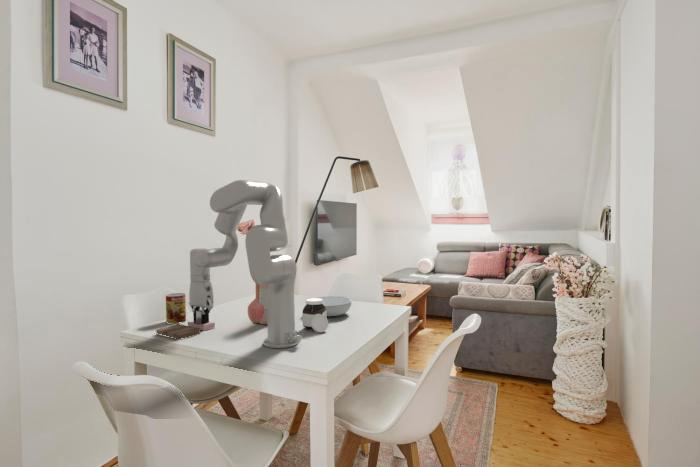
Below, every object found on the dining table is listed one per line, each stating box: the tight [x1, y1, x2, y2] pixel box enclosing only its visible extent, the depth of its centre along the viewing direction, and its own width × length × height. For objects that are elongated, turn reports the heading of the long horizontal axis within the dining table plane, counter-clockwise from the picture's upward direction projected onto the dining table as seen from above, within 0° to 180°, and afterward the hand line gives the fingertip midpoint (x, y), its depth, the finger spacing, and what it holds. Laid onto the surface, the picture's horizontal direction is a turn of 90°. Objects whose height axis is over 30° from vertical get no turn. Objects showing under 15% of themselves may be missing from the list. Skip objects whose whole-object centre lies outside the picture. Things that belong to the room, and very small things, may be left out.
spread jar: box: [301, 297, 329, 333], centre depth 155 cm, size 12×11×12 cm
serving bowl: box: [314, 295, 352, 318], centre depth 180 cm, size 21×21×7 cm
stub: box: [187, 309, 216, 331], centre depth 159 cm, size 10×5×7 cm, turn 58°
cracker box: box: [258, 284, 270, 326], centre depth 169 cm, size 14×6×21 cm, turn 164°
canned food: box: [165, 292, 187, 324], centre depth 171 cm, size 8×8×12 cm
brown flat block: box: [155, 323, 201, 340], centre depth 151 cm, size 14×9×2 cm, turn 58°
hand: (201, 322), depth 160 cm, fingers closed on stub, 4 cm apart
